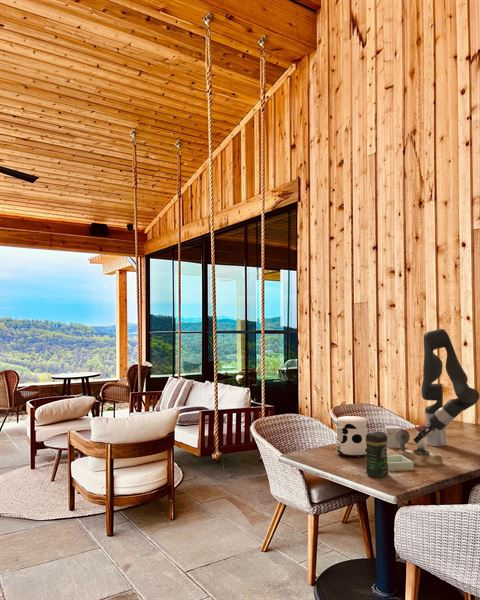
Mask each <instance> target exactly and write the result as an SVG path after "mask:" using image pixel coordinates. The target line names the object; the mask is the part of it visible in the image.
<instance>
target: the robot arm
mask: <svg viewBox="0 0 480 600" xmlns="http://www.w3.org/2000/svg"><path fill="white" fill-rule="evenodd" d="M442 348H444V349H445V351H446V360H445V372H446V373H447V375H448V377H449V379H450V381H451V383H452V387H453V391H454V394H455V395H456V397H455V398H452V399H449V400H448V401H446V403H444V389H443V385H442V384H441V383H434V382H435V381H437V380H438V379H439V378H440V377H441V376H442V373H443V361H442V359H441V358H440V357H439V356H438V355H436V354H435V353H434V351H436V350H438V349H442ZM423 352H424V353H423V354H424V355H423V356H424V357H423V371H422V373H423V376H422V383H421V385H422V386H421V397H422V399H423V400H425V401H435V402H434V403H433V404H432V405H428V406H426V407H425V408H424V414H425V415H424V416H425V419H424V420H425V426H426V427H425V428H424V429H422V431H421V432H420V433H418V436H417V435H416V437H414V438H413V441H414V443H415V444H417V443H418V442H419V441H420V440H421V439H422V438H424V437H425V445H428V446H431V447H444V446H445V447H446V446H447V434H446V433H447V431H446V427H447V426H449V424H451V423H452V422H453V421H454V420H455V418H456V417H458V416H459V415H460V414H461V413H462V412H463V411H466V410H467V409H469V408H471V407H473V406H474V405H475V404H476V403H477V402H478V401H479V399H480V393H479V391H478V390H477V389H475V388H473V387H470V386H469V385H468V376H467V374H466V372H465V370H464V369H463V367H462V366H461V363H460V361H459V359H458V357H457V353H456V351H455V348H454V346H453V343H452V341H451V338H450V336H449V334H448V333H447V331H446V330H445V329H444V328H438V329H435V330H431V331H426V332H425V333H424V334H423ZM443 403H444V404H443ZM421 433H423V434H424V436H422V434H421Z"/></svg>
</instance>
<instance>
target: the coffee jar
mask: <svg viewBox="0 0 480 600" xmlns="http://www.w3.org/2000/svg"><path fill="white" fill-rule="evenodd" d="M366 445H367V455H366V464H365V465H366V466H365V467H366V469H365V470H366V473H365V474H366V475H367V476H369V477H370V478H377V479H378V478H380V479H381V478H384V477H386V476H388V475H389V471H388V462H387V456H388V452H387V451H388V450H387V449H388V447H387V435H386V434H385V431H384V432H383V431H378V430H377V431H375V432H371V433H368V434H367V435H366Z"/></svg>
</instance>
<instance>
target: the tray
mask: <svg viewBox="0 0 480 600" xmlns="http://www.w3.org/2000/svg"><path fill="white" fill-rule="evenodd" d="M387 462H388V472H391V471H392V472H395V471H412V470H413V471H414V466H415V465H413V462H412V461H411V460H409V459H407V458H406V457H404V456H402V455H399V454H395V455H393V454H392V455H387Z"/></svg>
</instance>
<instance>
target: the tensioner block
mask: <svg viewBox="0 0 480 600" xmlns="http://www.w3.org/2000/svg"><path fill="white" fill-rule="evenodd" d="M410 439H411V435H410V433H409V431H408V430H407V429H404V428H401V429H398V430H397V431H396V432H395V440H396V441H397V442H399V443H400V448H399V450H398V455H402V456H404V457H406V458H407V459H409V460H411V461H412V462H413V466H427V465H430V466H431V465H443V455H442V454H441V453H439V452H436V451H435V450H432V449H430V448H425V452H418V451H417V448H416V449H406V445H405V444H407V443H408V442H409V441H410Z"/></svg>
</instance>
